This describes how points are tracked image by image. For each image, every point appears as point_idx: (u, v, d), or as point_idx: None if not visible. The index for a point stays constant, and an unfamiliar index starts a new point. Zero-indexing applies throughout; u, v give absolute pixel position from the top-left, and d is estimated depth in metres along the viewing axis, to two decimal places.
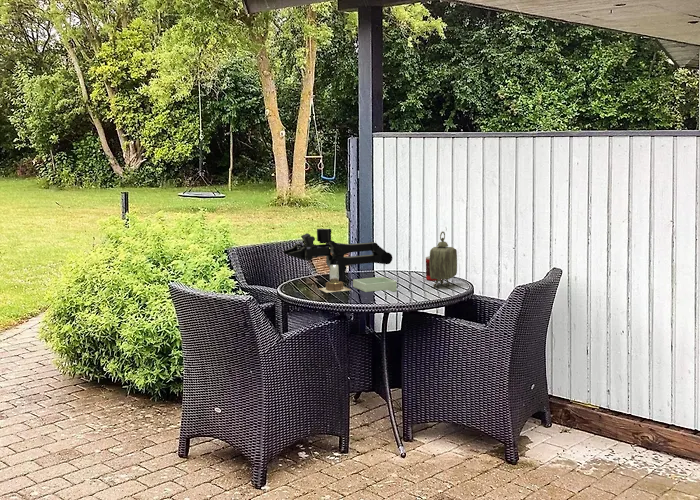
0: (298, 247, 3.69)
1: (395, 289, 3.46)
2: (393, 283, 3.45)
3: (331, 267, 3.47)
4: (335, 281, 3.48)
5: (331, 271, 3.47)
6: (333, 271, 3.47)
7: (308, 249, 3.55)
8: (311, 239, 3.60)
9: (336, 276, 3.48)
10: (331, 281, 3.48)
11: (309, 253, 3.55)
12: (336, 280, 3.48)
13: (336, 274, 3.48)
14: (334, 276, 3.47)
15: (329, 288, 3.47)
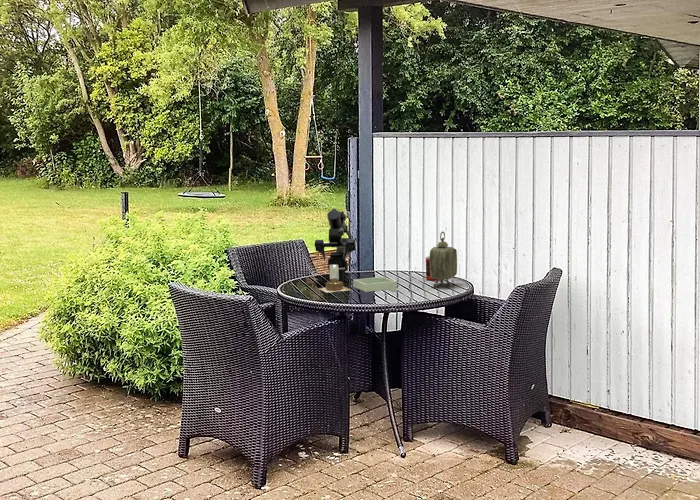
0: None
1: (395, 289, 3.46)
2: (393, 283, 3.45)
3: (331, 267, 3.47)
4: (335, 281, 3.48)
5: (331, 271, 3.47)
6: (333, 271, 3.47)
7: (354, 242, 3.58)
8: (343, 231, 3.58)
9: (336, 276, 3.48)
10: (331, 281, 3.48)
11: (355, 244, 3.60)
12: (336, 280, 3.48)
13: (336, 274, 3.48)
14: (334, 276, 3.47)
15: (329, 288, 3.47)
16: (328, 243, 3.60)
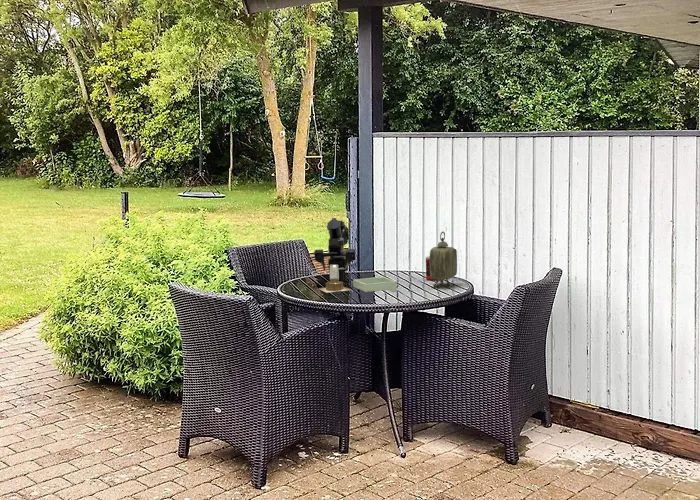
0: (322, 254, 3.55)
1: (395, 289, 3.46)
2: (393, 283, 3.45)
3: (331, 267, 3.47)
4: (335, 281, 3.48)
5: (331, 271, 3.47)
6: (333, 271, 3.47)
7: None
8: (343, 241, 3.53)
9: (336, 276, 3.48)
10: (331, 281, 3.48)
11: None
12: (336, 280, 3.48)
13: (336, 274, 3.48)
14: (334, 276, 3.47)
15: (329, 288, 3.47)
16: (328, 253, 3.56)
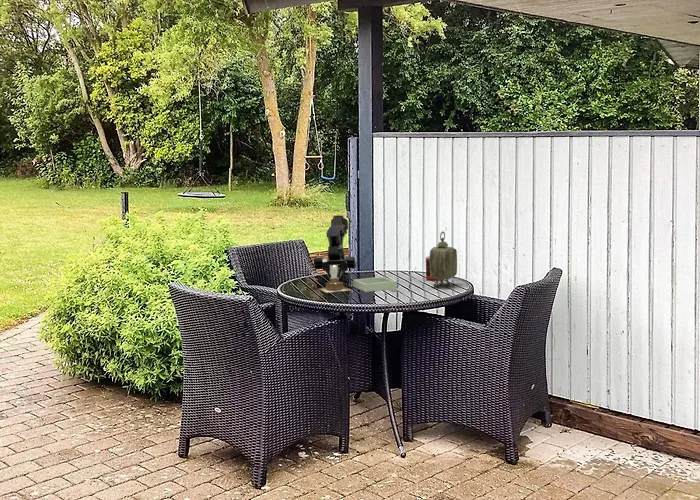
0: (322, 262, 3.52)
1: (395, 289, 3.46)
2: (393, 283, 3.45)
3: (331, 267, 3.47)
4: (335, 281, 3.48)
5: (331, 271, 3.47)
6: (333, 271, 3.47)
7: (354, 260, 3.51)
8: None
9: (336, 276, 3.48)
10: (331, 281, 3.48)
11: None
12: (336, 280, 3.48)
13: (336, 274, 3.48)
14: (334, 276, 3.47)
15: (329, 288, 3.47)
16: None
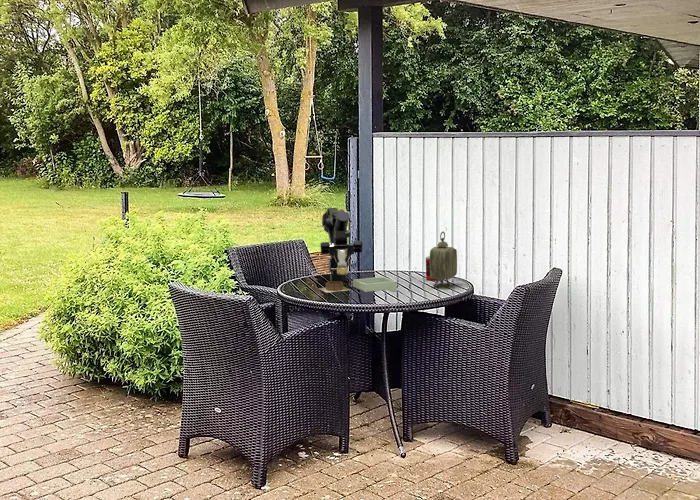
0: (329, 246, 3.49)
1: (395, 289, 3.46)
2: (393, 283, 3.45)
3: (339, 252, 3.45)
4: (343, 266, 3.46)
5: (339, 256, 3.45)
6: (341, 255, 3.45)
7: None
8: None
9: (344, 261, 3.46)
10: (339, 266, 3.46)
11: None
12: (344, 265, 3.46)
13: (344, 259, 3.45)
14: (342, 261, 3.45)
15: (329, 288, 3.47)
16: (334, 245, 3.50)
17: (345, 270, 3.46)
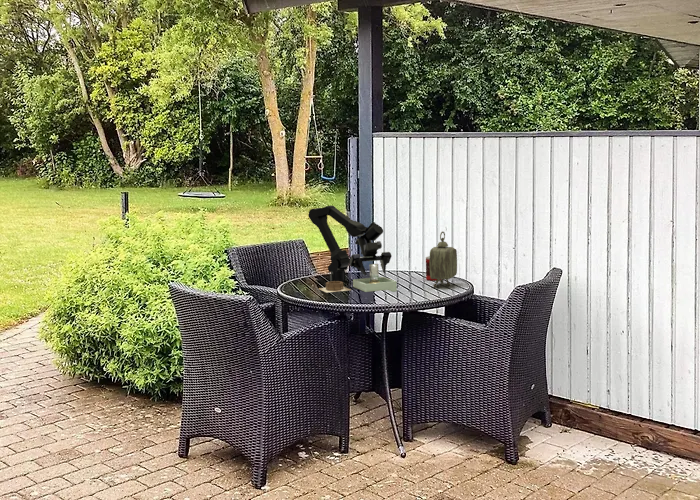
0: None
1: (395, 289, 3.46)
2: (393, 283, 3.45)
3: (373, 266, 3.47)
4: (377, 280, 3.48)
5: (373, 270, 3.48)
6: (375, 270, 3.48)
7: None
8: None
9: (377, 275, 3.49)
10: (373, 280, 3.48)
11: None
12: (377, 279, 3.49)
13: (377, 273, 3.49)
14: (376, 275, 3.48)
15: (329, 288, 3.47)
16: (364, 257, 3.51)
17: None
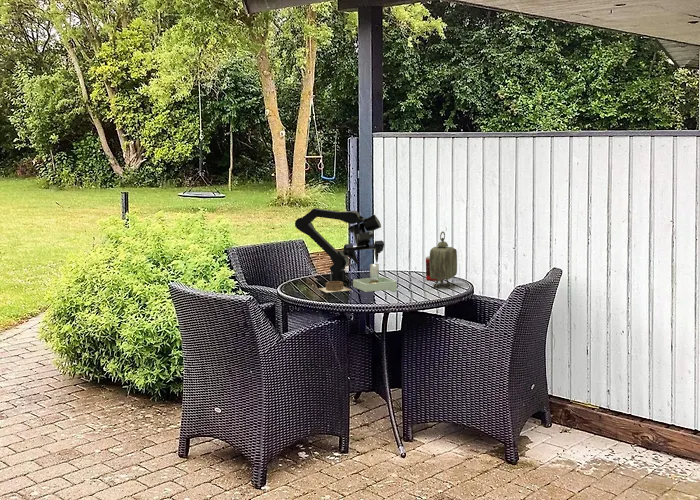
0: None
1: (395, 289, 3.46)
2: (393, 283, 3.45)
3: (373, 266, 3.47)
4: (377, 280, 3.48)
5: (373, 270, 3.48)
6: (376, 270, 3.48)
7: (383, 243, 3.61)
8: None
9: (378, 275, 3.49)
10: (373, 280, 3.48)
11: None
12: (378, 279, 3.49)
13: (378, 273, 3.48)
14: (376, 275, 3.48)
15: (329, 288, 3.47)
16: (357, 247, 3.59)
17: None
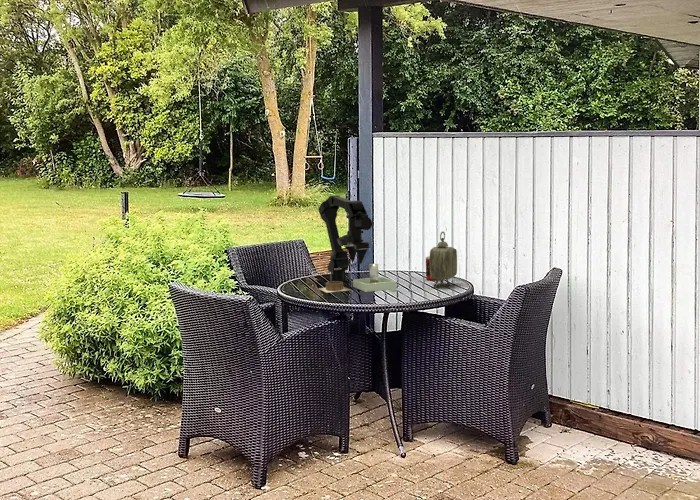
0: (348, 244, 3.59)
1: (395, 289, 3.46)
2: (393, 283, 3.45)
3: (373, 266, 3.47)
4: (377, 280, 3.48)
5: (373, 270, 3.47)
6: (375, 270, 3.47)
7: (358, 247, 3.45)
8: (346, 239, 3.48)
9: (377, 275, 3.48)
10: (373, 281, 3.48)
11: (362, 246, 3.46)
12: (377, 279, 3.49)
13: (377, 273, 3.48)
14: (376, 275, 3.48)
15: (329, 288, 3.47)
16: (350, 243, 3.57)
17: None
